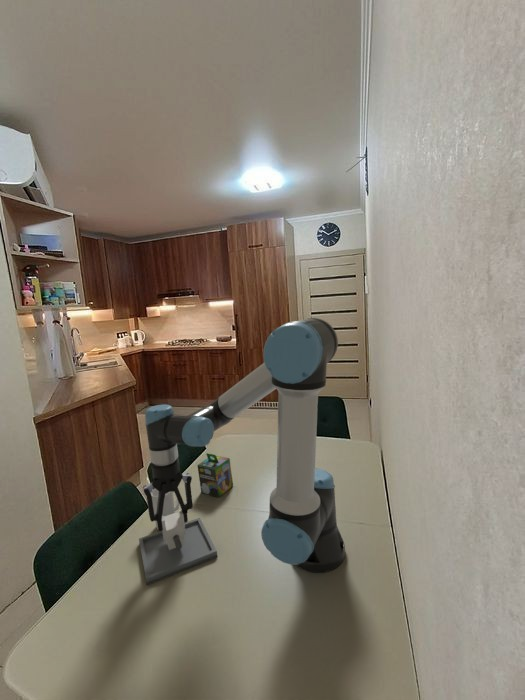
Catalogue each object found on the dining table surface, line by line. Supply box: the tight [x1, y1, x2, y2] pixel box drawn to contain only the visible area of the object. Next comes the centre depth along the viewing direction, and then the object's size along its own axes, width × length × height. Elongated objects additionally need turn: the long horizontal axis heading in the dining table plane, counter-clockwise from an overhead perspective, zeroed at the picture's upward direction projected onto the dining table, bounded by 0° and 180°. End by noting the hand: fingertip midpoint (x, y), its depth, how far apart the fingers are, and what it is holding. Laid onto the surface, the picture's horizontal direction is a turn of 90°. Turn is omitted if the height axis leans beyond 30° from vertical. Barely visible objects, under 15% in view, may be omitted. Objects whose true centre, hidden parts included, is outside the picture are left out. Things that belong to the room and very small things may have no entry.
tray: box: [138, 517, 218, 586], centre depth 101 cm, size 18×19×2 cm
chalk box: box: [197, 453, 234, 498], centre depth 132 cm, size 9×9×15 cm
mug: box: [151, 488, 180, 530], centre depth 114 cm, size 10×7×12 cm, turn 144°
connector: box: [164, 511, 185, 550], centre depth 100 cm, size 15×5×6 cm, turn 25°
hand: (174, 535), depth 100 cm, fingers closed on connector, 5 cm apart
